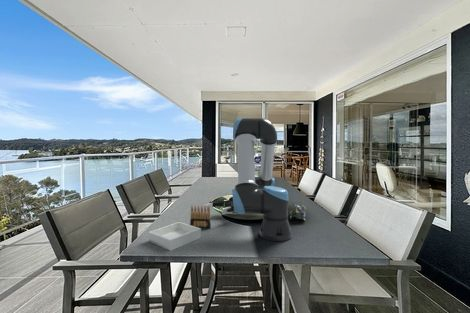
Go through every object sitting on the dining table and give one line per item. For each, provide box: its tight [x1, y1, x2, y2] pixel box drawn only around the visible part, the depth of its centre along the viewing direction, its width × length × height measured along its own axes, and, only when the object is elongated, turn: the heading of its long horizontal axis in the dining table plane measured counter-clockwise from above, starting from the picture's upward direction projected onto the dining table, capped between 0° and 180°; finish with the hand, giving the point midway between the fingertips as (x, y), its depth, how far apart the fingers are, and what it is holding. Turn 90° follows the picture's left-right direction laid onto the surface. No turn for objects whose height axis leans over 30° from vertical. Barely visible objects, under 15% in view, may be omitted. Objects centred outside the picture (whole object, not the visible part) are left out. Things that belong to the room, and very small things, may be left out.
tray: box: [148, 221, 202, 252], centre depth 117 cm, size 16×18×4 cm
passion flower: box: [288, 202, 308, 221], centre depth 145 cm, size 11×11×12 cm
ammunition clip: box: [189, 205, 212, 230], centre depth 132 cm, size 11×2×12 cm, turn 82°
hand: (213, 209), depth 140 cm, fingers open, 13 cm apart
